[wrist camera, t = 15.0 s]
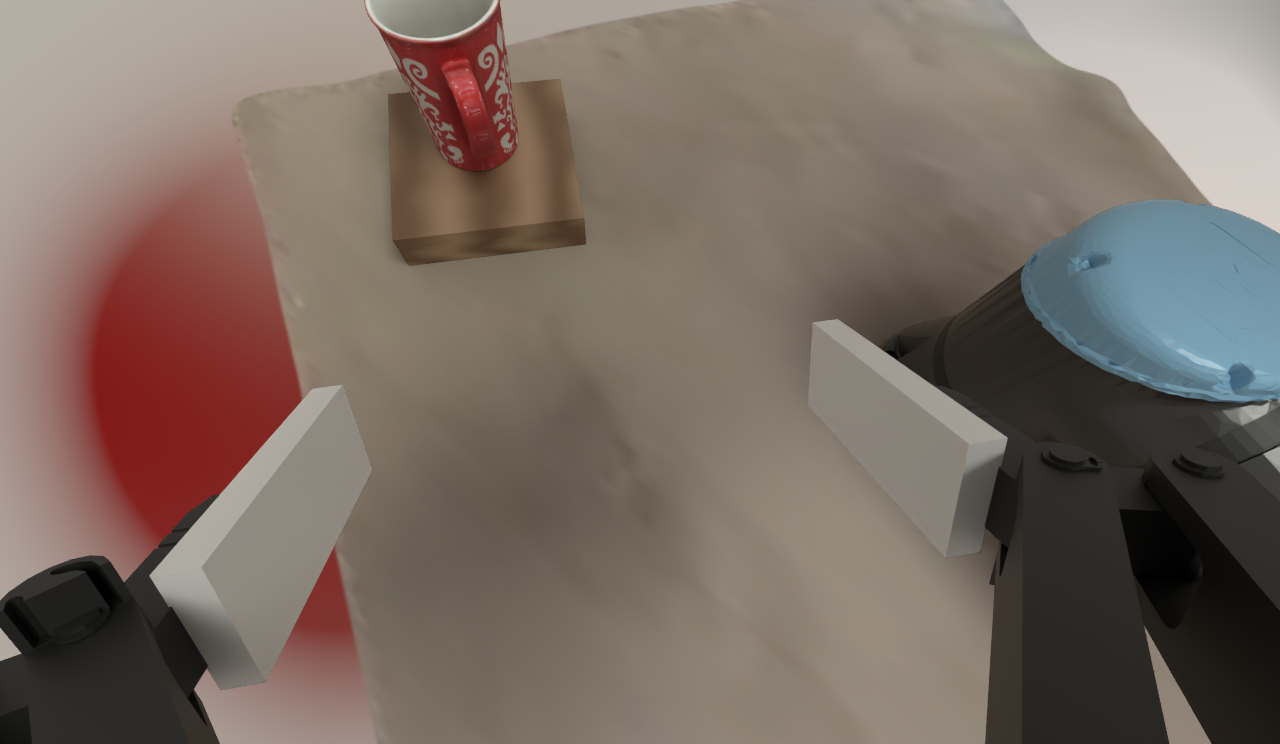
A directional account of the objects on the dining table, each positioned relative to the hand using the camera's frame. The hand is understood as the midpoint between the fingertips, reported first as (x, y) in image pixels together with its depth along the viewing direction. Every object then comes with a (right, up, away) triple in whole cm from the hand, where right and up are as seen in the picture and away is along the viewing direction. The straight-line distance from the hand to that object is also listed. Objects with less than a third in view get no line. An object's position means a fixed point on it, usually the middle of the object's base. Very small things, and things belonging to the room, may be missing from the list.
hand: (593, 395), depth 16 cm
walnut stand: (-13, +19, +38) cm, 44 cm away
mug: (-13, +20, +34) cm, 41 cm away
